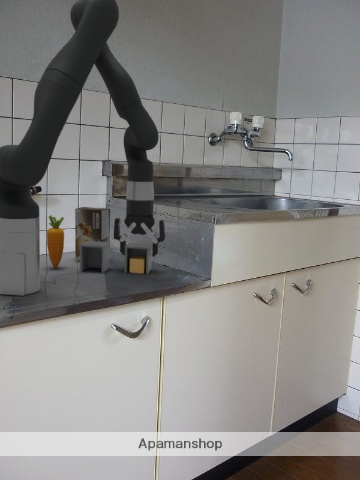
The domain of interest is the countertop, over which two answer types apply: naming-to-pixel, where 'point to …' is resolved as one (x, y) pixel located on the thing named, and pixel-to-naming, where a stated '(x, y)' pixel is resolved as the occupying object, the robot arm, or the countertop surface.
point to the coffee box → (91, 227)
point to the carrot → (55, 241)
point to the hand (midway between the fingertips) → (139, 255)
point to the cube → (138, 264)
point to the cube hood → (138, 254)
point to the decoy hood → (94, 255)
